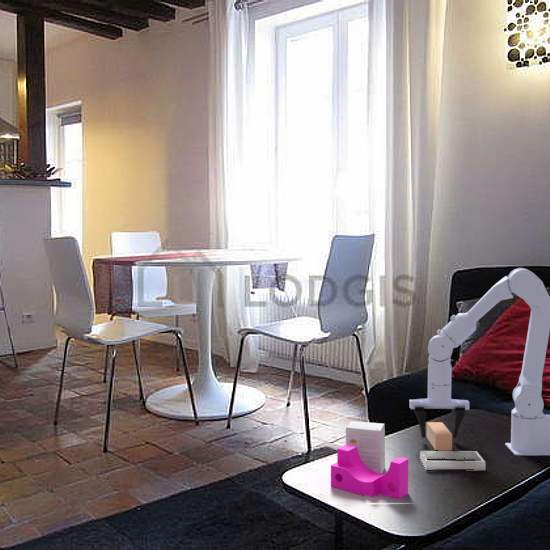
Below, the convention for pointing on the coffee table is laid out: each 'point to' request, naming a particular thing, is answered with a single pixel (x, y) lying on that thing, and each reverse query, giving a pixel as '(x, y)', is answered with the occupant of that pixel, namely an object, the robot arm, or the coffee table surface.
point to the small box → (368, 443)
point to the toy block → (368, 475)
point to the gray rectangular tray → (431, 465)
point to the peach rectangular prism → (439, 436)
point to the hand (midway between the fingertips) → (438, 436)
